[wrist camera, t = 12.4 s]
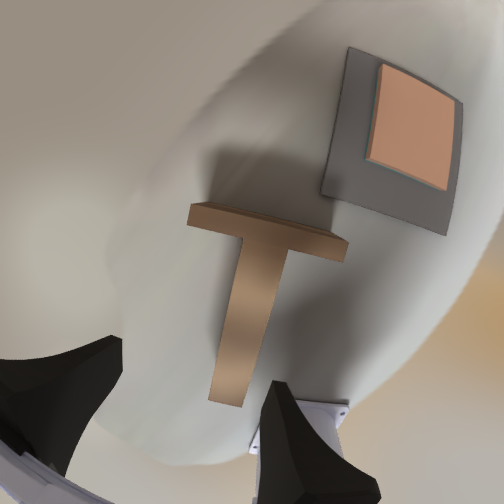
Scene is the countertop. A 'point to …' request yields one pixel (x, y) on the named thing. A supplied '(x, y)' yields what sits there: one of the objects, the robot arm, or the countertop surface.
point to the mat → (372, 175)
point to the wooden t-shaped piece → (254, 285)
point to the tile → (411, 128)
